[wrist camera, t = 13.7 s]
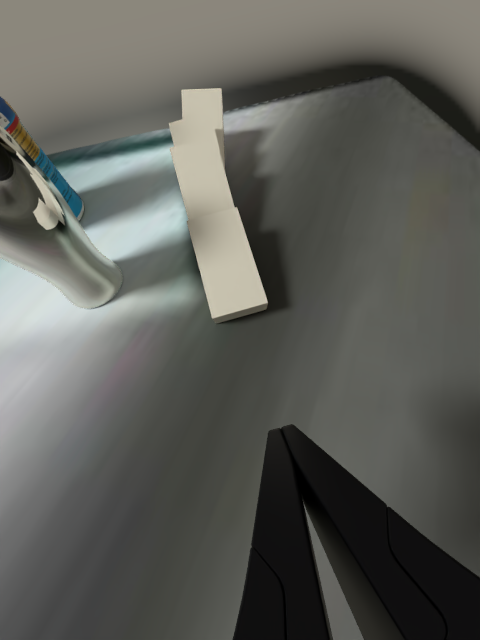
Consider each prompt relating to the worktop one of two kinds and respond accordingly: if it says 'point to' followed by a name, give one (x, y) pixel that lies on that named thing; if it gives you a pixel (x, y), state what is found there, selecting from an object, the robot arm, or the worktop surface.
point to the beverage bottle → (39, 156)
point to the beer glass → (49, 232)
